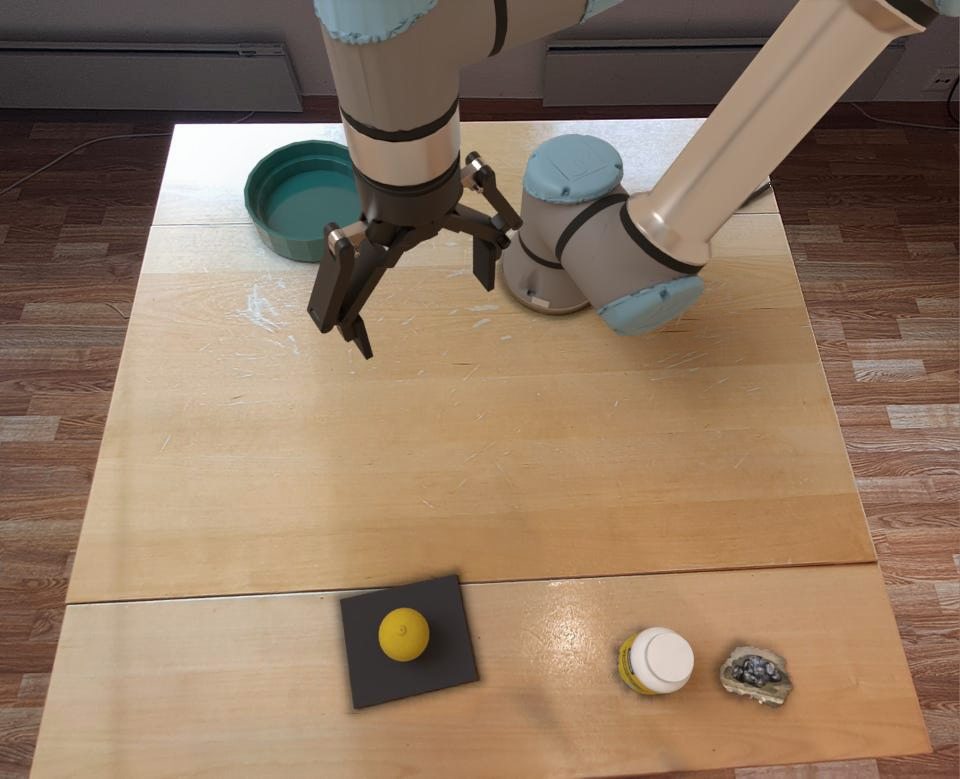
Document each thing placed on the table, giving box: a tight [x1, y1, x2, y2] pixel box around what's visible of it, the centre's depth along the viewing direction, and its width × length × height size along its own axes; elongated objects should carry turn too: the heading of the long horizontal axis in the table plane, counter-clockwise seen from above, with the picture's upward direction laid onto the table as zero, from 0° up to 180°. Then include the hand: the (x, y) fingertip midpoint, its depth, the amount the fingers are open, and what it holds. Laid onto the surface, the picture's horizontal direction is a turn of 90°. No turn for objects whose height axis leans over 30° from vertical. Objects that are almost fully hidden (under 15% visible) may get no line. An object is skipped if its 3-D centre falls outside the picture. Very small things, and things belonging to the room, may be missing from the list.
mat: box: [339, 573, 478, 710], centre depth 79 cm, size 14×12×1 cm
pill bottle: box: [616, 626, 695, 696], centre depth 74 cm, size 6×6×12 cm
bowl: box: [243, 139, 362, 263], centre depth 104 cm, size 19×19×6 cm
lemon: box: [379, 608, 429, 661], centre depth 75 cm, size 6×6×8 cm
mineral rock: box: [718, 645, 794, 709], centre depth 78 cm, size 7×8×2 cm
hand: (424, 313), depth 66 cm, fingers open, 13 cm apart
